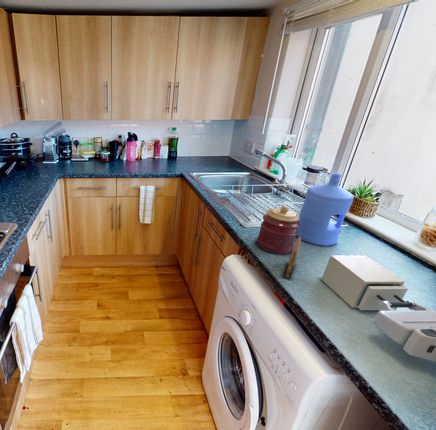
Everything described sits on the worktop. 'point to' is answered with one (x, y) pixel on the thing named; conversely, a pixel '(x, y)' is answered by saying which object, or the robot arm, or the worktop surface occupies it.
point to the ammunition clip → (292, 259)
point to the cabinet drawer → (383, 296)
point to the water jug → (324, 212)
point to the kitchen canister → (278, 230)
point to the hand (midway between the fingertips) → (394, 302)
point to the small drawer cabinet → (355, 276)
